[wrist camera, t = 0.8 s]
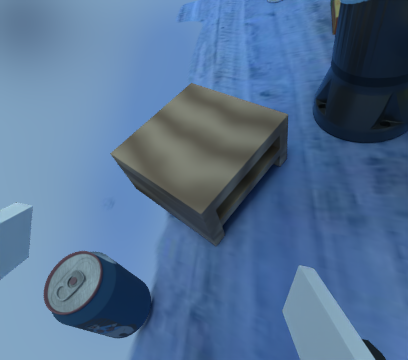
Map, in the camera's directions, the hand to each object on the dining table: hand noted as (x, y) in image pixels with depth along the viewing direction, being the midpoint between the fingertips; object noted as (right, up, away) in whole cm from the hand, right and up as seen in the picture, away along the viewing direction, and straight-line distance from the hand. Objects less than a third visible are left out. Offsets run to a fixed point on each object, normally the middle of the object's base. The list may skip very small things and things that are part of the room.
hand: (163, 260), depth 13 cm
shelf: (+3, +5, +31) cm, 32 cm away
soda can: (-8, -13, +21) cm, 26 cm away
